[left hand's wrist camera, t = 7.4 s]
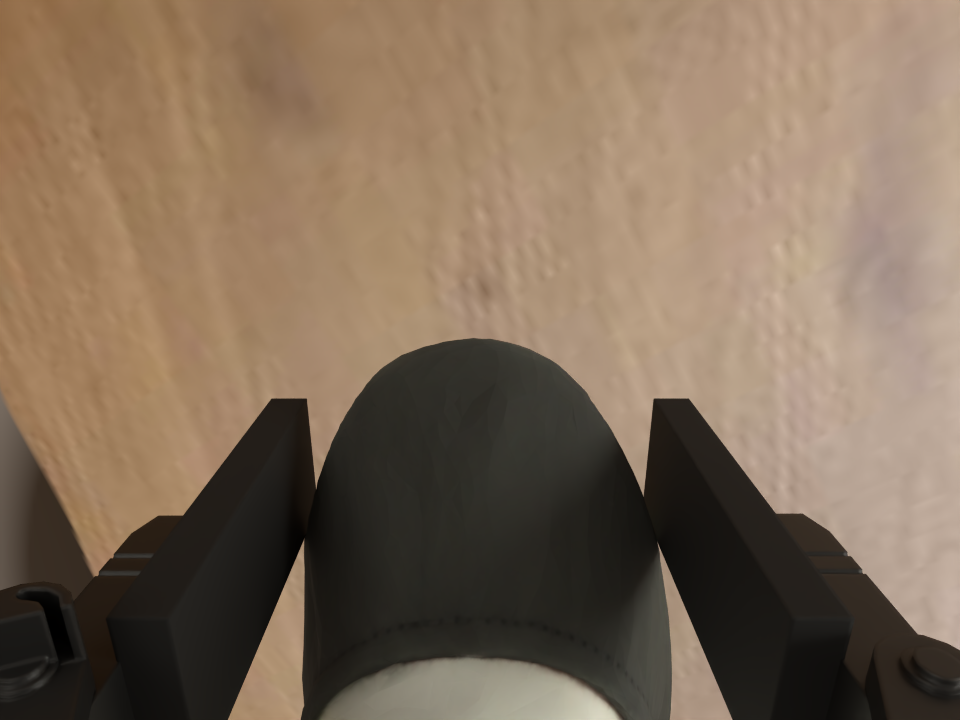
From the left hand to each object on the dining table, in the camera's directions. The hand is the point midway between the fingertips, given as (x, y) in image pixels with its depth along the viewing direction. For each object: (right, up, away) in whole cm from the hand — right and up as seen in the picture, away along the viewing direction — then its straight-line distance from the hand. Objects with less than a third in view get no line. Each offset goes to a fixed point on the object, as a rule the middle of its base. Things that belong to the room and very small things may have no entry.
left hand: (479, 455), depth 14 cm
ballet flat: (0, -8, +4) cm, 9 cm away
